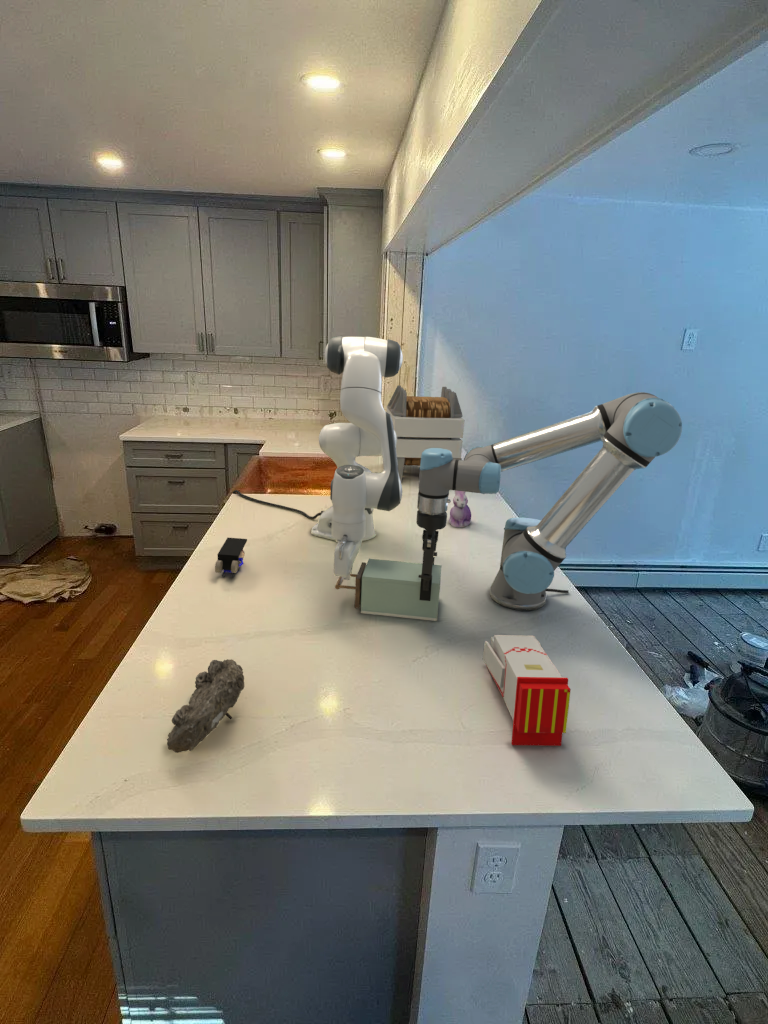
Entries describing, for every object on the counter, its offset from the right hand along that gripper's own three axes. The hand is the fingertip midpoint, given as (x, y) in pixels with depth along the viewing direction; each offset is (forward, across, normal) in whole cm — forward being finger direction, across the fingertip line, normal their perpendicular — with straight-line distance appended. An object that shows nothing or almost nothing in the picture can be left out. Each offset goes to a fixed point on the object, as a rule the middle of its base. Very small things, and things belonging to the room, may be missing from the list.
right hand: (426, 589), depth 149 cm
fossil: (+6, -50, +37) cm, 63 cm away
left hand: (-1, 0, +21) cm, 21 cm away
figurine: (+6, +67, -9) cm, 67 cm away
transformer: (+6, +132, +11) cm, 132 cm away
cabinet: (+6, 0, +6) cm, 9 cm away
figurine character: (+6, +11, +58) cm, 59 cm away
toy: (+6, -33, -21) cm, 40 cm away
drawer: (+5, 0, +12) cm, 13 cm away
